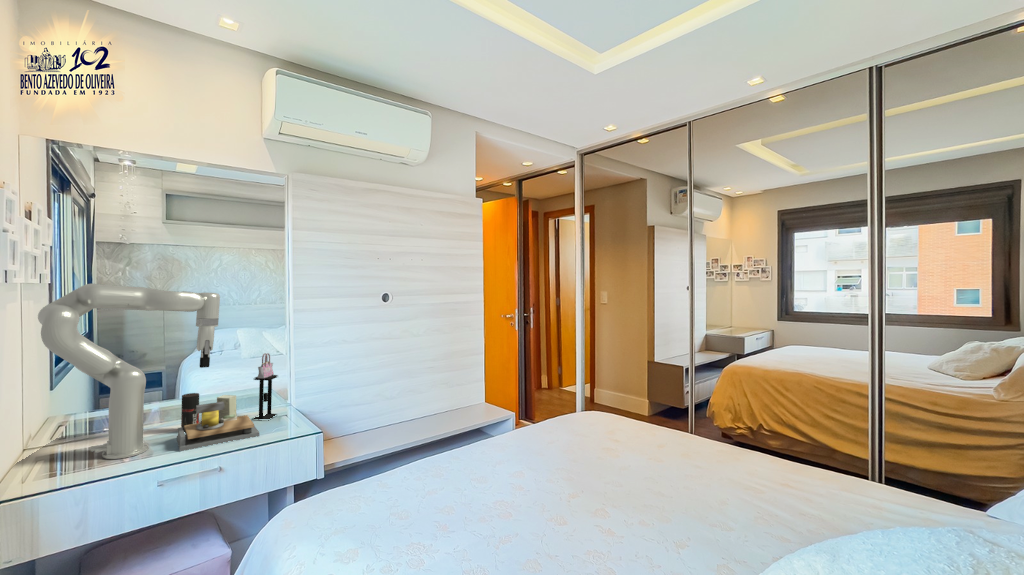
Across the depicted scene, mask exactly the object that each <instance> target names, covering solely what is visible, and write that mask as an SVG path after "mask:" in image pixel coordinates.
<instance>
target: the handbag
mask: <svg viewBox="0 0 1024 575" xmlns="http://www.w3.org/2000/svg"><path fill="white" fill-rule="evenodd" d="M273 365H274V362H271V355H270V353H266V352H264V353H263V354H262V358H261V365H260V366H258V367H257V369H258V374H257V376H255V377H254V378H253V381H259V388H258V390H259V392H258V394H259V395H258V396H259V397H258V398H259V400H258V415H259V417H256V416H254V417H255V418H254V417H252V420H253V419H270V418H272V417H273V416H275V415H277V416H278V413H272V400H273V399H272V398H273V397H272V392H273V391H272V390H273V380H275V379H276V378H278V377H279V374H274V371H273ZM265 381H267V392H264V391H265V390H264V385H265ZM264 402H265V403H266V402H267V411H266V412H267V414H266V415H265V416H263V413H264ZM272 419H273V418H272ZM272 419H270V420H272ZM270 420H268V421H270ZM268 421H267V422H268Z"/></svg>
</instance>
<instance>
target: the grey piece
mask: <svg viewBox="0 0 1024 575" xmlns="http://www.w3.org/2000/svg"><path fill="white" fill-rule="evenodd" d="M256 436H257V437H260V431H259V430H258V429H257V427H256V426H255V425H254V427H252V428H247V429H241V430H236V431H231V432H225V433H220V434H214V435H209V436H204V437H198V438H193V439H188V438H187V435H186V433H184V431H183V428H182V427H177V436H176V442H177V446H178V449H179V452H184V450H185V451H188V450H189V449H190V450H195V449H199V448H198V447H200V448H203V447H202V446H205V447H209V446H208V445H211V446H214V445H213V444H216V445H219V444H218V443H221V444H224V443H223V442H226V443H229V442H228V441H231V442H234V441H233V440H236V441H240V439H242V440H246V439H245V438H247V439H250V437H252V438H257V437H256ZM194 448H195V449H194Z"/></svg>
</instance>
